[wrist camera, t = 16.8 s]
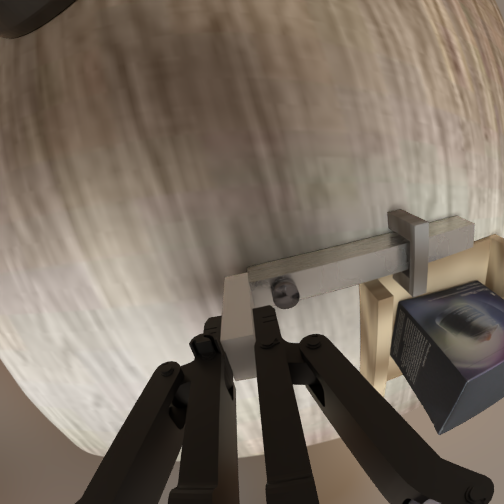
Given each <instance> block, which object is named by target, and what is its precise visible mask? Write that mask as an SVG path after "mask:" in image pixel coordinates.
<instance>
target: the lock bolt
mask: <svg viewBox="0 0 504 504" xmlns="http://www.w3.org/2000/svg"><path fill="white" fill-rule="evenodd" d="M474 226H475V223H472V222H470V221H468V220H466V219H463V218H461V217H459V216H453V217H450V218H446V219H442V220H438V221H434V222H430V223H429V256H428V263H429V262H432V261H435V260H438V259H441V258H444V257H447V256H450V255H452V254H455V253H458V252H461V251H464V250H466V249H469V248H472V247H473V244H474ZM407 269H410V241H409V240H408V239H406V238H405V237H403V236H401V235H400V234H398V233H396V232H391V233H387V234H383V235H379V236H375V237H371V238H367V239H363V240H359V241H355V242H351V243H347V244H343V245H339V246H335V247H331V248H326V249H322V250H318V251H314V252H310V253H306V254H301V255H297V256H293V257H289V258H285V259H280V260H276V261H272V262H268V263H263V264H259V265H255V266H250V267H247V271H248V279H249V285H250V290H251V294H252V297H253V301H254V305H255V308H258V307H263V306H267V305H271V306H277V307H279V308H281V309H289V308H292V307H294V306H295V305H296V304H297V303H298V301H299V300H301V299H305V298H309V297H313V296H317V295H320V294H324V293H328V292H332V291H336V290H339V289H343V288H347V287H350V286H354V285H357V284H361V283H364V282H368V281H371V280H375V279H378V278H381V277H385V276H388V275H391V274H395V273H398V272H401V271H404V270H407Z"/></svg>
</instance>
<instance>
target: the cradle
mask: <svg viewBox="0 0 504 504" xmlns="http://www.w3.org/2000/svg"><path fill="white" fill-rule="evenodd" d="M388 225H389V228H390V229H391V230H393V231H395V232H396V233H398V234H400V235H401V236H403V237H405V238H406V239H408V240H409V241H410V269H407V270H404V271H401V272H398V273H395V274H391V275H388V276H385V277H381V278H378V279H375V280H371V281H368V282H364V283H361V284H359V292H360V323H361V357H360V373H361V374H362V375H363V376H364V377H365V378H366V380H367V381H368V382H369V383H370V384H371V385H372V386H373V387H374V388H375V389H376V390H377V391H378V392H379V393H380V394H381V395H382V396H383V398H384V394H385V387H386V381H388V380H391V379H393V378H396V377H398V376H401V375H403V374H402V372H401V371H400V369H399V367H398V366H397V364H396V363H395V362H394V360H393V359H392V358H391V356H390V347H391V341H392V336H393V330H394V325H395V320H396V314H397V307H398V302H399V301H403V300H407V299H412V298H415V297H420V296H424V295H428V294H431V293H435V292H439V291H443V290H446V289H450V288H453V287H457V286H460V285H464V284H467V283H470V282H474V281H477V280H478V281H479V282H481V283H482V284H483V285H485V286H486V287H488V288H489V289H490V290H492V291H493V292H495V293H496V294H497V295H499V296H500V297H501V298H503V299H504V238H502V237H499V236H497V235H495V234H494V235H491V236H489V237H486V238H483V239H480V240H478V241H475V242H474V244H473V247H472V248H469V249H466V250H464V251H461V252H458V253H455V254H452V255H450V256H447V257H444V258H441V259H438V260H435V261H432V262H429V263H428V256H429V222H427V221H425V220H423V219H421V218H419V217H417V216H414V215H412V214H410V213H408V212H406V211H403V210H401V209H400V210H396V211H391V212H388Z"/></svg>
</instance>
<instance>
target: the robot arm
mask: <svg viewBox="0 0 504 504" xmlns="http://www.w3.org/2000/svg"><path fill="white" fill-rule="evenodd" d="M74 1H75V0H0V37H3V38H16V37H20V36H22V35H25V34H27V33H29V32H31V31H33V30H35V29H37V28H38V27H40V26H42V25H43V24H45V23H46V22H48V21H49V20H51V19H52V18H53V17H55V16H56V15H58V14H59V13H60V12H61V11H63V10H64V9H65V8H66V7H68V6H69V5H70V4H71V3H72V2H74ZM189 345H190V347H191V350H192V352H193V354H194V356H195V359H194V361H192V362H190V363H188V364H186V365H183V366H180V365H179V364H178V363H177V362H173V361H171V362H166V363H163V364H161V365H160V366H158V368H157V369H156V370H155V372H154V373H153V375H152V377H151V378H150V380H149V382H148V383H147V385H146V387H145V388H144V390H143V392H142V393H141V395H140V397H139V398H138V400H137V402H136V403H135V405H134V407H133V409H132V410H131V412H130V414H129V415H128V417H127V419H126V420H125V422H124V424H123V426H122V427H121V429H120V431H119V432H118V434H117V436H116V438H115V439H114V441H113V443H112V445H111V446H110V448H109V450H108V451H107V453H106V455H105V457H104V459H103V460H102V462H101V464H100V466H99V467H98V469H97V471H96V473H95V475H94V476H93V478H92V480H91V482H90V483H89V485H88V487H87V489H86V491H85V492H84V494H83V496H82V498H81V499H80V500H79V501H77V502H76V503H75V504H158V502H159V500H160V497H161V495H162V493H163V490H164V488H165V485H166V483H167V481H168V478H169V476H170V473H171V471H172V469H173V466H174V464H175V461H176V459H177V457H178V454H179V452H180V449H181V447H182V452H181V461H180V470H179V480H178V485H177V487H176V488H174V489H172V490H171V491H170V494H169V498H168V504H240V503H239V481H238V453H237V420H236V388H235V385H234V382H233V376H234V379H235V381H239V380H245V379H251V378H256V377H257V383H258V394H259V404H260V414H261V424H262V434H263V444H264V454H265V463H266V473H267V484H266V501H267V504H319V500H318V496H317V491H316V486H315V482H314V477H313V474H312V470H311V465H310V460H309V456H308V452H307V447H306V442H305V438H304V433H303V429H302V424H301V420H300V415H299V411H298V406H297V402H296V398H295V393H294V389H293V384H294V385H306V388H307V389H308V391H309V392H310V394H311V395H312V397H313V398H314V400H315V401H316V402H317V404H318V405H319V407H320V408H321V410H322V411H323V413H324V414H325V416H326V417H327V418H328V420H329V421H330V423H331V424H332V426H333V427H334V429H335V430H336V431H337V433H338V434H339V436H340V437H341V439H342V440H343V441H344V443H345V444H346V446H347V447H348V448H349V450H350V451H351V453H352V454H353V455H354V457H355V458H356V460H357V461H358V462H359V464H360V465H361V467H362V468H363V469H364V471H365V472H366V473H367V475H368V476H369V477H370V479H371V480H372V482H373V483H374V484H375V486H376V487H377V488H378V490H379V491H380V492H381V493H382V495H383V496H384V497H385V499H386V500H387V501H388V502H389V503H390V504H488V503H489V502H490V501H491V499H492V496H493V493H494V484H493V482H492V481H491V479H490V478H488V477H487V476H485V475H482V474H479V473H477V472H474V471H471V470H469V469H466V468H464V467H461V466H459V465H456V464H453V463H451V462H449V461H446V460H444V459H442V458H440V456H439V455H438V454H437V453H436V452H435V451H434V450H433V449H432V448H431V447H430V446H429V445H428V444H427V443H426V442H425V441H424V440H423V439H422V438H421V437H420V435H419V434H418V433H417V432H416V431H415V430H414V429H413V428H412V427H411V426H410V425H409V424H408V423H407V422H406V421H405V420H404V419H403V418H402V417H401V415H400V414H399V413H398V412H397V411H396V410H395V409H394V408H393V407H392V406H391V405H390V404H389V403H388V402H387V401H386V400H385V399H384V398H383V396H382V395H381V394H380V393H379V392H378V391H377V390H376V389H375V388H374V387H373V386H372V385H371V384H370V383H369V382H368V381H367V380H366V378H365V377H364V376H363V375H362V374H361V373H360V372H359V371H358V370H357V369H356V368H355V367H354V366H353V365H352V364H351V363H350V362H349V360H348V359H347V358H346V357H345V356H344V355H343V354H342V353H341V352H340V351H339V350H338V349H337V348H336V347H335V346H334V345H333V343H332V342H331V341H330V340H329V339H328V338H327V337H325V336H324V335H320V334H312V335H308V336H306V337H304V338H303V339H302V340H301V341H300V343H290V342H287V341H285V340H284V339H283V338H282V337H281V334H280V329H279V325H278V321H277V317H276V312H275V309H274V308H273V307H272V306H271V305H267V306H263V307H258V308H255V305H254V301H253V297H252V294H251V290H250V285H249V279H248V273H242V274H237V275H233V276H228V277H225V280H224V293H223V307H222V316H217V317H211V318H209V319H208V320H207V321H206V323H205V325H204V332H203V334H200V335H198V336H196V337H194V338H193V339H192V340H191V341H190V343H189Z"/></svg>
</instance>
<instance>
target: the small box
mask: <svg viewBox="0 0 504 504" xmlns="http://www.w3.org/2000/svg"><path fill="white" fill-rule="evenodd" d="M390 356H391V358H392V359H393V360H394V362H395V363H396V364H397V366H398V367H399V369H400V371H401V372H402V374H403V375H404V377H405V378H406V380H407V382H408V383H409V385H410V386H411V388H412V389H413V391H414V393H415V394H416V396H417V398H418V399H419V401H420V402H421V404H422V405H423V407H424V409H425V410H426V412H427V414H428V415H429V417H430V419H431V421H432V423H433V424H434V427H435V429H436V431H437V433H438V435H441V434H443V433H445V432H447V431H449V430H451V429H453V428H454V427H456V426H458V425H460V424H462V423H464V422H465V421H467V420H469V419H471V418H472V417H474V416H476V415H477V414H479V413H480V412H482V411H484V410H485V409H487V408H488V407H490V406H491V405H493V404H494V403H496V402H497V401H499V400H500V399H502V398H503V397H504V299H503V298H501V297H500V296H499V295H497V294H496V293H495V292H493V291H492V290H490V289H489V288H488V287H486V286H485V285H483V284H482V283H481V282H479V281H478V280H477V281H474V282H470V283H467V284H464V285H460V286H457V287H453V288H450V289H446V290H443V291H439V292H435V293H431V294H428V295H424V296H420V297H415V298H412V299H407V300H403V301H399V302H398V307H397V314H396V320H395V325H394V330H393V336H392V341H391V347H390Z"/></svg>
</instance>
